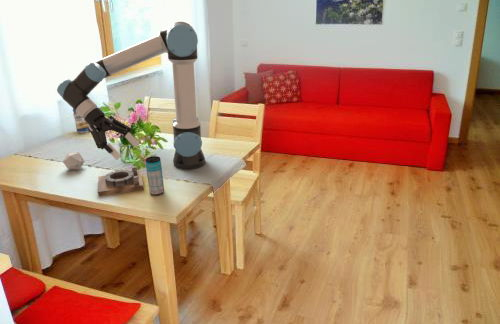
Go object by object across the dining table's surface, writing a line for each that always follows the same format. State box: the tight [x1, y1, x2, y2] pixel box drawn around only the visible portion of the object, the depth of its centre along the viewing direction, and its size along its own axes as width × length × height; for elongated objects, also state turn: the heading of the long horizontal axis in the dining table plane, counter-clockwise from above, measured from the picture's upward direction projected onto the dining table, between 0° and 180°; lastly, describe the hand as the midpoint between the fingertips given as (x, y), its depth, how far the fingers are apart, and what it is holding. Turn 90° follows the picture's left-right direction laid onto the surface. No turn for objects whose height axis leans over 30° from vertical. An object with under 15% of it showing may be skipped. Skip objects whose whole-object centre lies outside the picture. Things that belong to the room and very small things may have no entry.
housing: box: [97, 166, 144, 197], centre depth 177 cm, size 18×16×5 cm
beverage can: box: [145, 155, 165, 196], centre depth 167 cm, size 6×6×15 cm
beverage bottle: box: [72, 108, 90, 134], centre depth 245 cm, size 8×8×20 cm
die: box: [62, 152, 86, 171], centre depth 194 cm, size 8×9×10 cm
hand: (128, 151), depth 167 cm, fingers open, 13 cm apart
